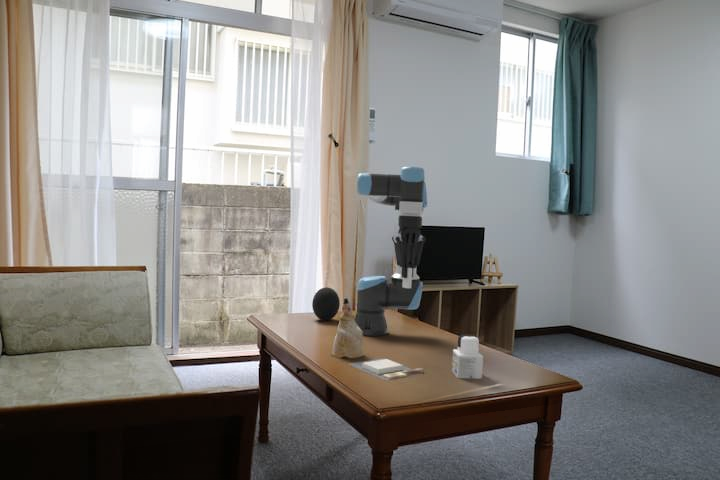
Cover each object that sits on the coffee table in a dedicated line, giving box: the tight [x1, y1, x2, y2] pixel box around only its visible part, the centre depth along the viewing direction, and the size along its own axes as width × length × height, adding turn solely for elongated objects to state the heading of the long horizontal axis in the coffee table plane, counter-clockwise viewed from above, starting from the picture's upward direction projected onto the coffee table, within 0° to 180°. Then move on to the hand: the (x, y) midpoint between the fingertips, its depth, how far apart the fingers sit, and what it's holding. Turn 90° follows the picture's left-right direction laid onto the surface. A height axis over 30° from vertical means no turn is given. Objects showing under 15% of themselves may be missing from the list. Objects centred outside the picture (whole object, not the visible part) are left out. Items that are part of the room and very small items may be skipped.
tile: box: [362, 358, 404, 374], centre depth 179 cm, size 2×8×10 cm
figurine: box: [330, 297, 365, 359], centre depth 195 cm, size 12×10×20 cm
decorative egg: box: [311, 287, 341, 322], centre depth 255 cm, size 12×12×15 cm
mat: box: [348, 357, 424, 381], centre depth 180 cm, size 15×20×1 cm
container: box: [451, 334, 484, 380], centre depth 177 cm, size 8×8×13 cm
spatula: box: [383, 367, 425, 380], centre depth 174 cm, size 15×3×1 cm, turn 126°
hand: (406, 287), depth 183 cm, fingers closed
